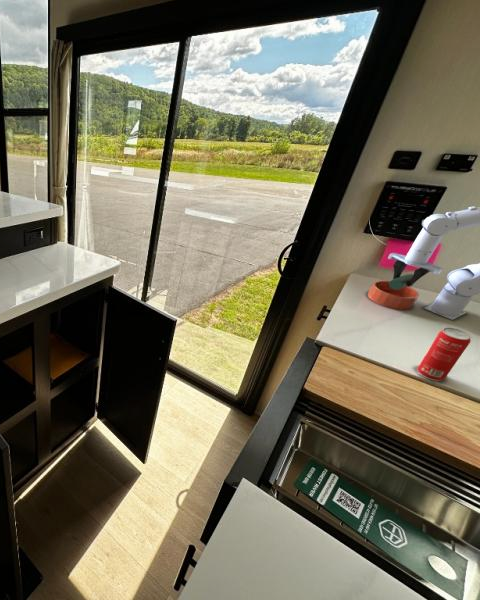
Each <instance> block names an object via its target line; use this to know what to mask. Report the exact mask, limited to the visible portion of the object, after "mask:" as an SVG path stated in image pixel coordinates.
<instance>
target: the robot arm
mask: <svg viewBox="0 0 480 600" xmlns="http://www.w3.org/2000/svg"><path fill="white" fill-rule="evenodd" d="M421 226H422V229H421V230H420V231H419V233H418V235H417V236H416V238H415V240H414V241H413V244H412V245H411V247H410V249H409V251H408V252H407V253H406V255H404V254H399V253H396V252H392V253H389V255H388V257H387V259H388V260H393V261H395V262H393V264H392V267H393V277H392V280H393V279H396V278H398V277H401V276H402V274H403V272H404V271H405V269H406V268H407V266H412V267H414V268H416V269H415V270H414V272H413V277H412V279H411V280H410V281H409V283H408V285H407V286H408V287H412V286H414V284H415V283H416V282H417V281H418V280H420V279H421V278H422V277H424V276H425V275H427V274H429V273H433V274H434V275H439V274H441V273H442V271H443V270H444V268H443V267H440V266H437V265H436V264H433V263H430V262H429V260H430V258H431V257H432V255H433V253H434V251H435V250H436V249H437V247H438V245H439V244H440V242H441V241H442V238H443V237H444V236H445V235H447V234H448V233H450V232H451V231H456V230H461V229H466V228H472V227H477V226H480V206H477V207H476V206H474V205H473V206H469V207H467V209H461V210H458V211H457V210H456V211H447V212H446V213H445V214H443V213H434V214H430V215H429V216H427V217H426V218H425V219H422V221H421ZM446 279H447V280H446V281H447V283H446V284H445V285H444V287H442V289H441V291H440V292H439V294H438V295H437V297H436V298H435V300H434V301H433V302H432V304H430V305H428V306H425V307H424V310H426V311H429V312H431V313H434V314H436V315H439V316H441V317H444V318H446V319H448V320H452V321H453V320H455V319H457V318H460V317H461V316H463V315H465V314H467V311H465V308H466V307H467V306H468V305H469V303H470V302H471V301H472V299H473V298H474V296H476V295H479V294H480V262H479V263H475V264H474V263H473V264H468V265H465V266H464V267H461V268H457V269H454V270H452V271H450V272H449V273H448V274H447V275H446Z"/></svg>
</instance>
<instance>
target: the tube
mask: <svg viewBox="0 0 480 600" xmlns="http://www.w3.org/2000/svg"><path fill="white" fill-rule="evenodd" d="M413 274H414V273H413ZM413 274H412V273H406V274H404V275H400V277H398V278H396V279H393V278H392V279H390V280H389V281H390V282H389V286H390V287H391V288H392V289H394V290H399V289H401V288H404V287H406V286H407V285H408V283H409V281H410V280H411V279H412V277H413Z"/></svg>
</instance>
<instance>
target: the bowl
mask: <svg viewBox="0 0 480 600" xmlns="http://www.w3.org/2000/svg"><path fill="white" fill-rule="evenodd" d="M390 281H391V280H384V279H383V280H377V281H374V282H373V283H372V285H371V287H370V289H369V290H368V293H367V297H368V298H369V300H371V301H372V302H373V303H376V304H378V305H380V306H383V307H386V308H390V309H395V310H409V309H412V307H413V306H414V304H415V303H416V301H417V300H418V299H419V297H420V293H419V291H417V290H416V289H415V288H413V287H412V286H410V287H408V286H406V287H404V288H401V289H399V290H394V289H392V288H391V287H390V286H389V282H390Z"/></svg>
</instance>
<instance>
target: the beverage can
mask: <svg viewBox="0 0 480 600" xmlns="http://www.w3.org/2000/svg"><path fill="white" fill-rule="evenodd" d="M471 338H472V336H471V335H470V333H468V332H466V331H465V330H462V329H458V328H455V327H454V328H453V327H445V328H444V329H442V330H440V331H439V332H438V334H437V335H436V337H435V339H434V340H433V341H432V343H431V345H430V347H429V348H428V350H427V351H426V353H425V355H424V357H423V358H422V360H421V361H420V363H419V364H418V366H417V368H416V370H417V372H418V374H419V375H421V376H422V377H424V378H426V379H428V380H432V381H438V382H439V381H440V382H441V381H444V380H445V379H446V378H447V377H448V375H449V373H450V372H452V369H453V368H454V366H455V365H456V363H457V362H458V361H459V359H460V358H461V356H462V355H463V353H464V352H465V351H466V349H467V348H468V346H469V345H470V343H471Z"/></svg>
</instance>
